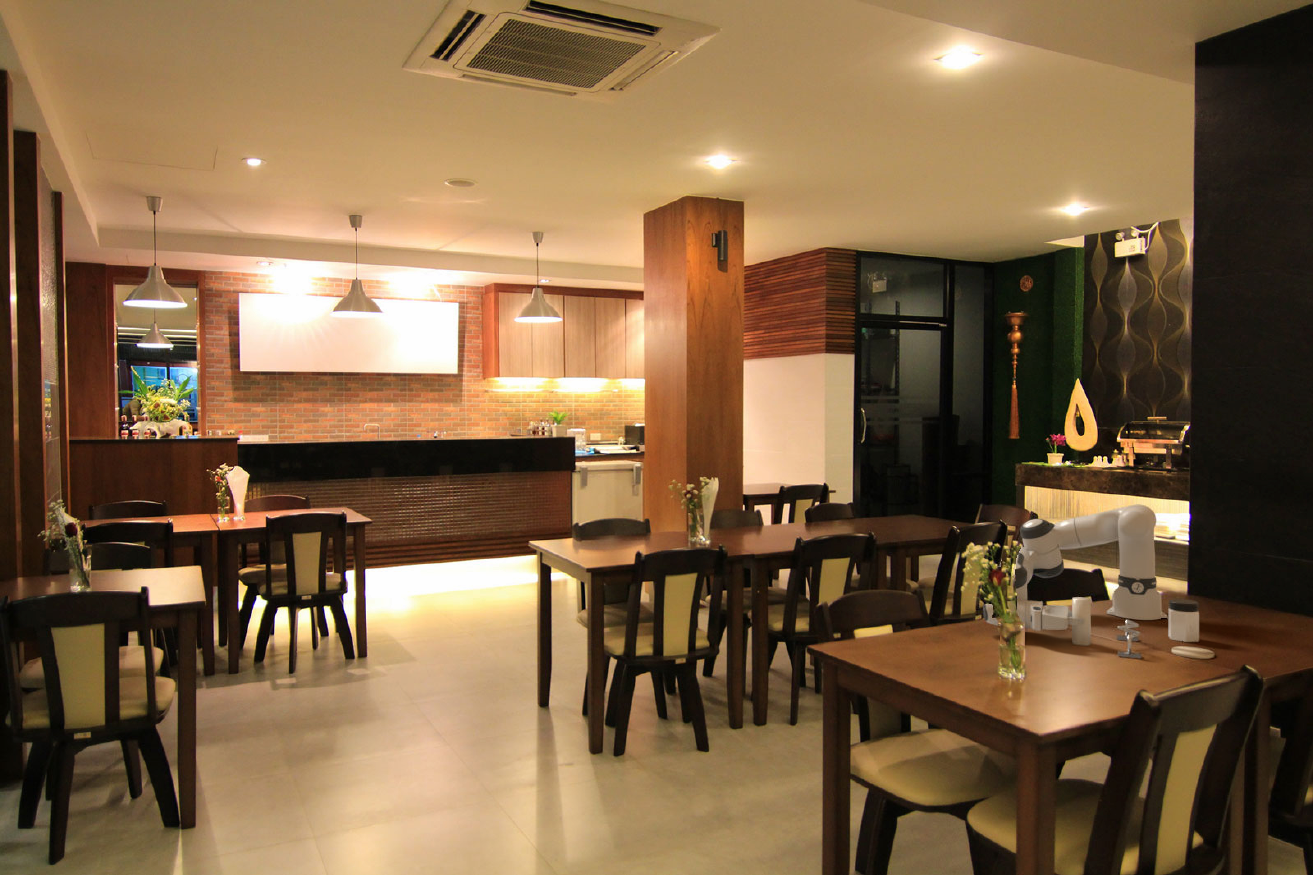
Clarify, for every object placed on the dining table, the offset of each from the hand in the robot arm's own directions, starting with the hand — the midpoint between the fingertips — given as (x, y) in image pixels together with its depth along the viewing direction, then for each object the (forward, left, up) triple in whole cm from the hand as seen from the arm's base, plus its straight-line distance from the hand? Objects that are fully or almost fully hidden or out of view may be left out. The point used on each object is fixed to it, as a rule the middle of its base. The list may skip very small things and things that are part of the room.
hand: (1084, 619), depth 281 cm
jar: (-19, +28, -8) cm, 35 cm away
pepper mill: (0, -1, -8) cm, 8 cm away
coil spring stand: (0, +12, -8) cm, 14 cm away
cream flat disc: (0, +29, -8) cm, 30 cm away
